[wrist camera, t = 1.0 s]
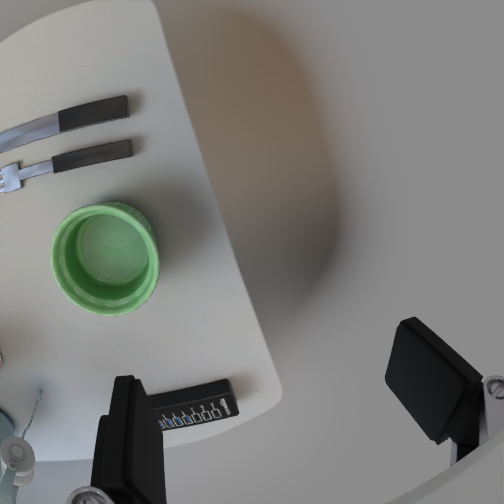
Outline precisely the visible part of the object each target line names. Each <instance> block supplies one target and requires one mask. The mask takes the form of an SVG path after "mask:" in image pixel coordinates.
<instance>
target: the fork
mask: <svg viewBox="0 0 504 504" xmlns="http://www.w3.org/2000/svg"><path fill="white" fill-rule="evenodd" d="M132 156H133V152H132V143H131V140H124V141H118V142H113V143H108V144H104V145H99V146H95V147H90V148H86V149H82V150H77V151H73V152H69V153H65V154H62V155H58V156H54V157H52V160H49V161H46V162H42V163H39V164H35V165H32V166H29V167H25V168H22V169H20V164H19V162H16V163H13V164H10V165H7V166H5V167H2V170H0V175H1V174H3V178H2V179H0V183H3V182H4V187H2V188H0V192H3V191H5V193H7V192H10V191H14V190H17V189H20V188H23V185H22V180H24V179H27V178H30V177H34V176H37V175H41V174H45V173H48V172H52V171H54V173H58V172H62V171H66V170H70V169H74V168H78V167H83V166H87V165H92V164H96V163H101V162H106V161H111V160H116V159H121V158H127V157H132Z"/></svg>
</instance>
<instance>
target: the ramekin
mask: <svg viewBox="0 0 504 504" xmlns="http://www.w3.org/2000/svg"><path fill="white" fill-rule="evenodd" d="M50 259H51V266H52V271H53V274H54V277H55V279H56V281H57V283H58V285H59V287H60V289H61V290H62V291H63V293H64V294H65V295H66V296H67V297H68V298H69V299H70V300H71V301H72V302H73V303H75V304H76V305H77V306H79V307H80V308H82V309H84V310H86V311H88V312H91V313H94V314H97V315H102V316H118V315H123V314H127V313H129V312H132V311H133V310H135V309H137V308H138V307H140V306H141V305H142V304H143V303H145V302H146V300H147V299H148V298H149V297H150V296H151V294H152V293H153V291H154V289H155V287H156V284H157V282H158V278H159V273H160V258H159V253H158V249H157V240H156V236H155V233H154V230H153V228H152V226H151V225H150V223H149V222H148V220H147V219H146V218H145V217H144V216H143V215H142V214H141V213H140V212H139V211H138V210H136V209H134V208H133V207H131V206H129V205H127V204H123V203H120V202H103V203H99V204H96V205H90V206H85V207H82V208H80V209H78V210H76V211H74V212H73V213H71V214H70V215H69V216H67V217H66V218H65V219H64V220H63V222H62V223H61V224H60V225H59V227H58V228H57V230H56V232H55V235H54V237H53V240H52V244H51V252H50Z"/></svg>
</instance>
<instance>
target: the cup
mask: <svg viewBox="0 0 504 504" xmlns="http://www.w3.org/2000/svg"><path fill="white" fill-rule="evenodd" d="M10 436H14V430H13V426H12V424H11V422H10V421H9V419H8V418H7V417H6V416H5V415H4V414H3V413H2V412H1V411H0V446H1V443H2V441H3V440H4V439H5V438H7V437H10ZM3 476H4V474H3V472H2V468H1V459H0V478H2V477H3Z"/></svg>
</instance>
